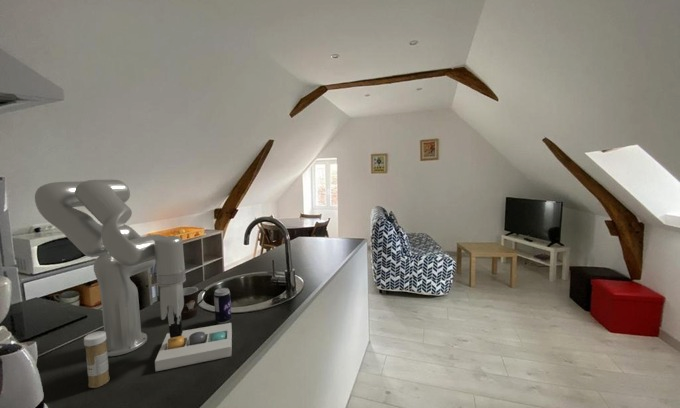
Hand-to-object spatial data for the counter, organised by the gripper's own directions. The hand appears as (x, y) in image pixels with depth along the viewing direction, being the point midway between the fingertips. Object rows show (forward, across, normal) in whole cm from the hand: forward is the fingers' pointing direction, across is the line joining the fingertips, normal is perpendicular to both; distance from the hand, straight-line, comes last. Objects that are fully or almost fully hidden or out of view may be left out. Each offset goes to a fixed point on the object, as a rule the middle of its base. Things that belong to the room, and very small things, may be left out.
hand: (176, 335), depth 92 cm
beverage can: (+6, -17, +13) cm, 22 cm away
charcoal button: (+4, 0, +6) cm, 7 cm away
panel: (+6, 0, +6) cm, 8 cm away
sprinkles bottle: (+6, +8, -17) cm, 20 cm away
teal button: (+5, 0, +12) cm, 13 cm away
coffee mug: (+6, -27, +1) cm, 28 cm away
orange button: (+4, 0, 0) cm, 4 cm away
